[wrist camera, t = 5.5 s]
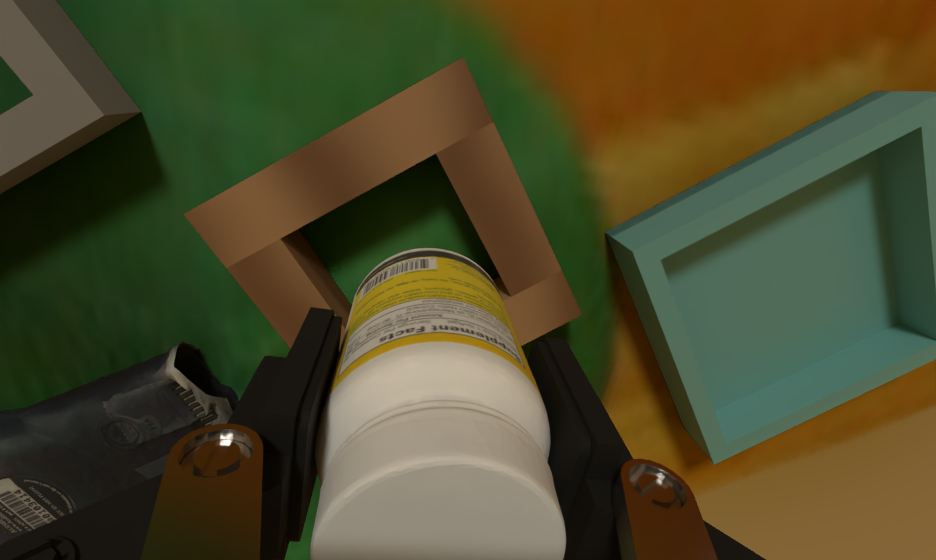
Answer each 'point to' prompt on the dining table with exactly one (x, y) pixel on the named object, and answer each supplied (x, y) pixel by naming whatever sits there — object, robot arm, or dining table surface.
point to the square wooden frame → (362, 168)
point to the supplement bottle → (433, 425)
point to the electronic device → (102, 437)
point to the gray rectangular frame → (53, 90)
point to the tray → (793, 273)
